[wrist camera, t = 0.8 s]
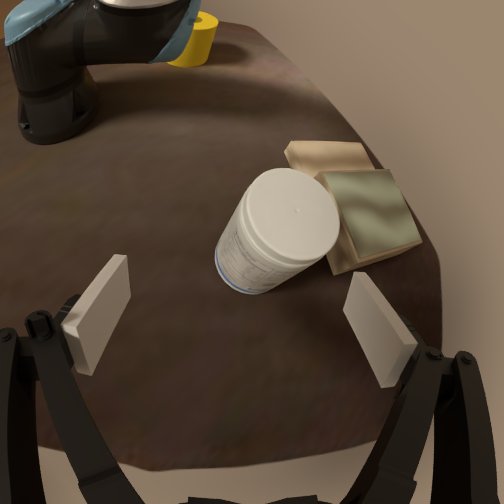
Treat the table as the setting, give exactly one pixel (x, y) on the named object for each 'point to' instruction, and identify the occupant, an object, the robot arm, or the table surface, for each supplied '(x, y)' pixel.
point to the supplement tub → (276, 231)
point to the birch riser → (357, 202)
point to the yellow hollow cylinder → (198, 42)
